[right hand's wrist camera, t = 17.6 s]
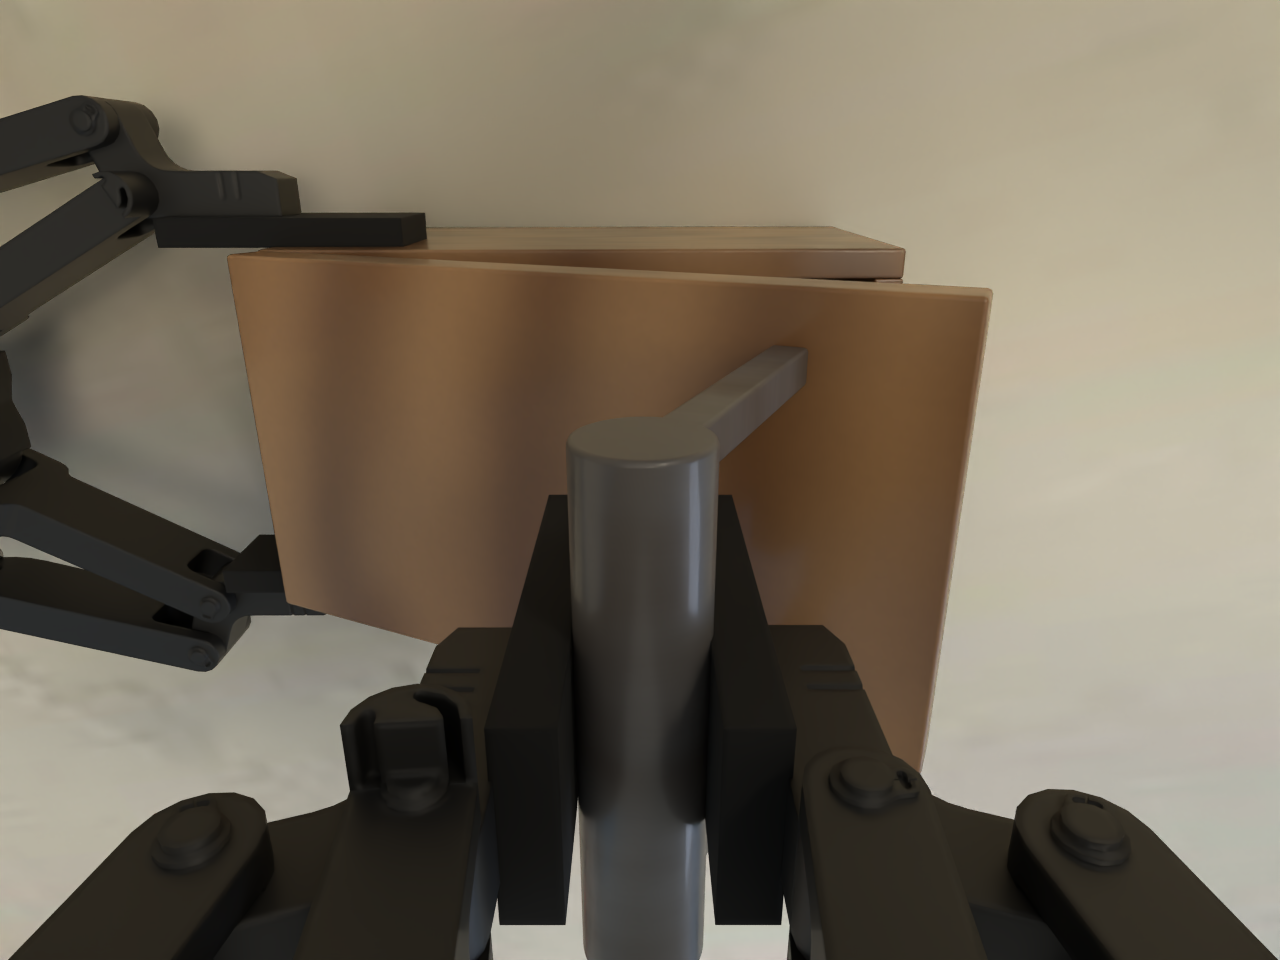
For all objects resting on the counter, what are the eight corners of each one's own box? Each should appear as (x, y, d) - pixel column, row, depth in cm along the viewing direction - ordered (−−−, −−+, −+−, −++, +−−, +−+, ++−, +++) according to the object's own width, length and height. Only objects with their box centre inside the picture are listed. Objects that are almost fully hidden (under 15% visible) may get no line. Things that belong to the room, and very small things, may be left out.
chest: (832, 226, 29) (907, 248, 21) (813, 480, 33) (870, 582, 25) (360, 227, 29) (255, 249, 21) (389, 482, 33) (309, 584, 25)
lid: (994, 287, 14) (941, 410, 7) (927, 744, 18) (845, 1141, 10) (264, 250, 21) (-144, 294, 14) (316, 585, 25) (11, 761, 17)
